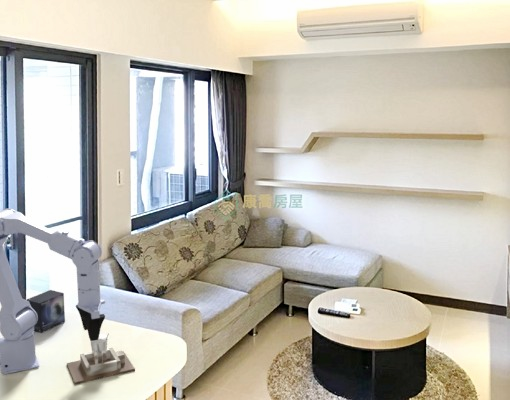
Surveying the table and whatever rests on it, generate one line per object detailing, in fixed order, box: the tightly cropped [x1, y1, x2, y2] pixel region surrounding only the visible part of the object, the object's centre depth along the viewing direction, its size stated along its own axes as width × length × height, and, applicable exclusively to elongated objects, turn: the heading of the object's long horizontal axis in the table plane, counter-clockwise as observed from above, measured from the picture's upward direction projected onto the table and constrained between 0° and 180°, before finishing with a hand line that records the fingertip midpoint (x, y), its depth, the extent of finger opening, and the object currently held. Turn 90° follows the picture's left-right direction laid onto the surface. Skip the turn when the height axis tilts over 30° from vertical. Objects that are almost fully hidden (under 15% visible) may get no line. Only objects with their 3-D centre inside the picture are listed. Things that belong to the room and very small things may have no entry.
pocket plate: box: [66, 347, 136, 385], centre depth 152 cm, size 16×12×3 cm
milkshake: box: [90, 333, 110, 365], centre depth 151 cm, size 4×5×10 cm
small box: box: [26, 289, 66, 334], centre depth 179 cm, size 11×6×10 cm, turn 155°
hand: (91, 334), depth 150 cm, fingers open, 7 cm apart
